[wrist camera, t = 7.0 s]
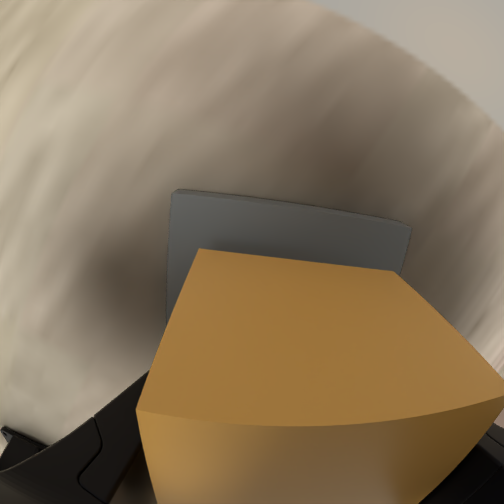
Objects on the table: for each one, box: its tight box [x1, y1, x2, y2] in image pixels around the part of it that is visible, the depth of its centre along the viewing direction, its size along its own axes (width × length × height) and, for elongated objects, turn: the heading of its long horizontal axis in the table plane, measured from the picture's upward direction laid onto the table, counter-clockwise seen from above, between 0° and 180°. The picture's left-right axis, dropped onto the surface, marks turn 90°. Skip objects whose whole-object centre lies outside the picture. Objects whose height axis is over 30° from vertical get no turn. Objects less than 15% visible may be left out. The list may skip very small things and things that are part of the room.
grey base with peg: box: [166, 189, 412, 327], centre depth 9 cm, size 8×8×5 cm
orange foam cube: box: [136, 248, 504, 504], centre depth 6 cm, size 6×6×6 cm
